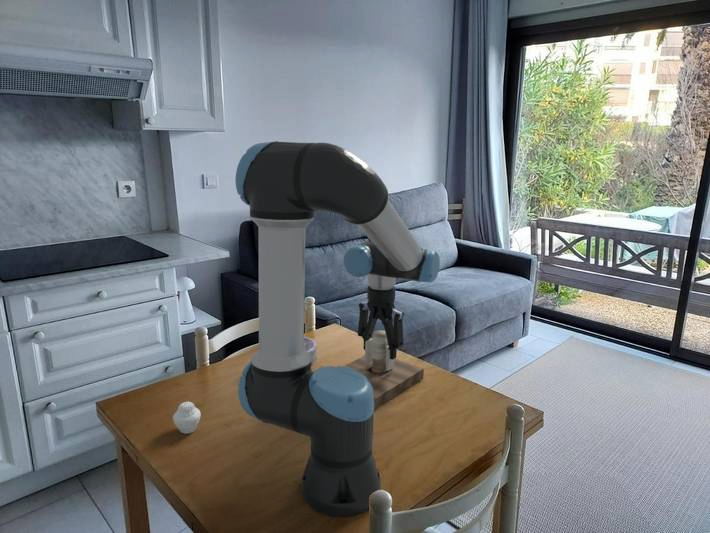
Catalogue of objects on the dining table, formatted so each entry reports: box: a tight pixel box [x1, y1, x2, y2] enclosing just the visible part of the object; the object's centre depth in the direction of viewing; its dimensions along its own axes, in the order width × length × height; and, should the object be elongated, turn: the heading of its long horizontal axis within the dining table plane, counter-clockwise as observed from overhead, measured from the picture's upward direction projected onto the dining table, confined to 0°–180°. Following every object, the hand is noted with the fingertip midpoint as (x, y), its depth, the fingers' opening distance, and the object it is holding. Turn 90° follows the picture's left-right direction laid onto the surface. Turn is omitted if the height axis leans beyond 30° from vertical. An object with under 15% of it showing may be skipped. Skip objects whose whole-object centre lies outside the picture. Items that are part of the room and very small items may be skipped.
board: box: [342, 355, 425, 411], centre depth 138 cm, size 24×18×3 cm
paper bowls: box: [304, 336, 318, 367], centre depth 144 cm, size 15×15×8 cm
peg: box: [372, 329, 388, 376], centre depth 138 cm, size 4×4×14 cm
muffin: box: [172, 401, 202, 434], centre depth 114 cm, size 6×6×7 cm
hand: (379, 364), depth 139 cm, fingers open, 7 cm apart
